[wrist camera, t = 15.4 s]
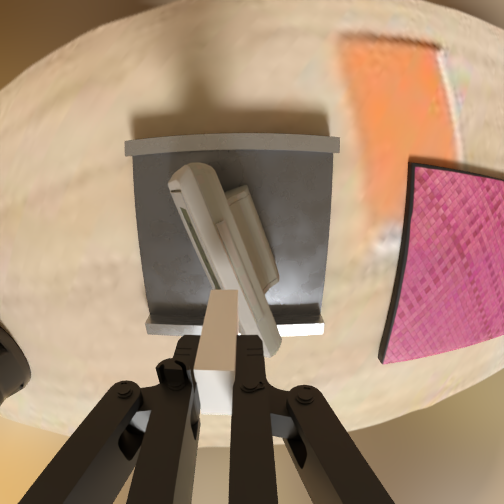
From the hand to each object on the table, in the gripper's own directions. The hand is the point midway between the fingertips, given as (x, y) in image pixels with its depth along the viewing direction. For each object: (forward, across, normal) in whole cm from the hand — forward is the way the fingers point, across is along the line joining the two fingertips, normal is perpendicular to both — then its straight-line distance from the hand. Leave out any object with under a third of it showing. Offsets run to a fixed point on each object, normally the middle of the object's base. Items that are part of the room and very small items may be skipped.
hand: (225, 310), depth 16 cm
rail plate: (+15, 0, 0) cm, 15 cm away
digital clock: (+14, -1, 0) cm, 14 cm away
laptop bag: (+16, +40, -4) cm, 43 cm away
